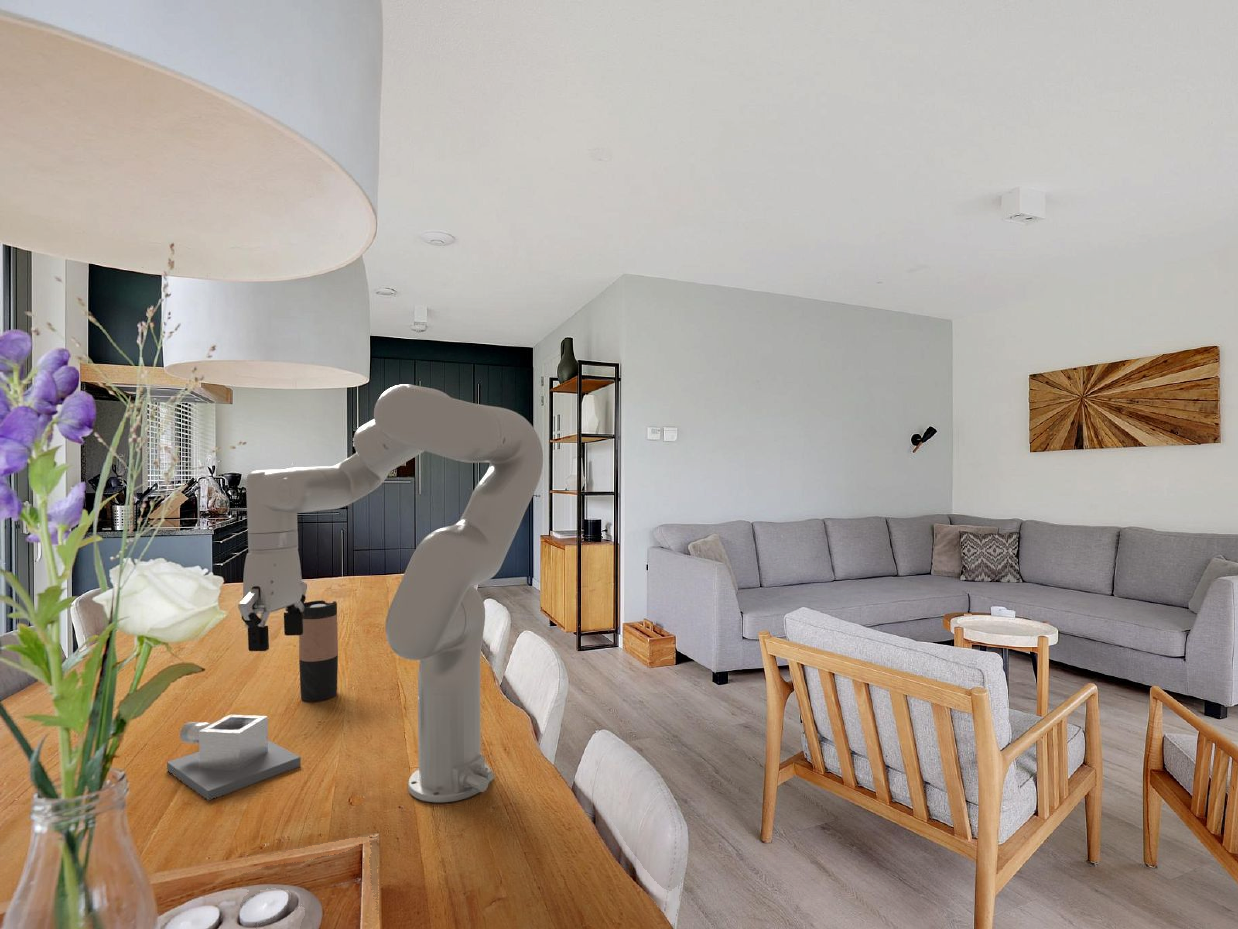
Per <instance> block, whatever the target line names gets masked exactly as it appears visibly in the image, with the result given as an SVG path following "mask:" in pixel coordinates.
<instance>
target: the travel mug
mask: <svg viewBox="0 0 1238 929" xmlns="http://www.w3.org/2000/svg"><path fill="white" fill-rule="evenodd" d="M303 605H304V611H303V612H302V614H303V634H302V635H298V663H299V665H298V667H299V684H300V686H299V687H300V699H301V701H302V702H307V703H317V702H323V701H327V700H330V698H331V699H333V698H335V697H336V696H337V694H338V674H339V672H338V668H339V666H338V665H339V647H338V646H339V644H338V643H339V642H338V638H339V635H338V632H339V631H338V602H337V601H335V600H334V601H332V602H326V601H325V600H314V601H313V600H312V601H308V602H306V601H305V602H304V604H303ZM334 696H335V697H334Z"/></svg>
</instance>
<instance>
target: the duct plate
mask: <svg viewBox="0 0 1238 929" xmlns="http://www.w3.org/2000/svg"><path fill="white" fill-rule="evenodd" d="M233 730H239V729H233ZM301 759H302V758H301V756H299V755H298V754H296V753H294V752H292V751H290V750H288V749H286V748H285V747H283V746H281V745H279V744H276V743H274V742H273V741H271V740H269V739H268V752H266V753H265V754H263V755H262V756H260V757H259V758H257V759H256V760H254V761H253V762H252V763H250V764H249V765H247V766H246V767H244V768H243V769H241V770H240V771H236V770H218V769H200V768H199V751H196V752H194V753H191V754H187V755H185V756H182V757H178V758H175V759H172V760H169V761H167V762H166V771H167V770H168V771H169V772H170V773H172V774H173V775H175V776H174V777H175V778H176V777H177V778H178V779H177V778H176V779H177V780H179V781H180V780H181V781H182V782H181V781H180V782H181V783H183V784H185V785H186V786H187V785H188V786H187V787H188V788H190V789H191V788H192V789H191V790H192V791H194V790H195V791H196V792H195V791H194V792H195V793H196V794H198V795H199V794H200V795H199V796H201V797H202V796H203V797H202V798H203V799H205V798H206V799H207V800H206V799H205V800H206V801H208V802H210V801H212V800H214V799H213V798H215V799H217V798H220V797H222V795H223V796H225V795H228V794H230V793H233V792H236V791H238V790H241V789H244V788H246V787H249V786H251V785H255V784H257V783H259V782H261V781H264V780H265V781H266V780H268V779H270V778H273V777H275V776H277V775H281V774H282V773H283V774H284V773H286V772H288V771H290V770H293V769H296V768H299V767H301ZM168 771H167V772H168ZM169 772H168V773H169ZM170 773H169V774H170ZM172 774H171V775H172ZM173 775H172V776H173ZM216 797H217V798H216ZM211 799H212V800H211ZM209 800H210V801H209Z"/></svg>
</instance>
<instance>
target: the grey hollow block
mask: <svg viewBox="0 0 1238 929" xmlns="http://www.w3.org/2000/svg"><path fill="white" fill-rule="evenodd" d="M268 723H269V718H268V716H267V715H253V714H252V715H247V714H228V715H227V716H224V717H223V718H221V719H219V720H217V721H215V722H205V721H204V722H203V721H202V722H199V721H187V722H185V724H183V726H182V727H181V729H180V733H179V739H180V740H181V742H182V743H184V744H185V743H186V744H198V752H199V768H200V769H218V770H236V771H240V770H241V769H243V768H244V767H246V766H247V765H249V764H250V763H252V762H253V761H254V760H256V759H257V758H259V757H260V756H262V755H263V754H265V753H266V752H268V740H269V738H268V736H269V733H268V732H269V730H268V729H269V728H268V726H269V724H268ZM233 729H239V730H233Z"/></svg>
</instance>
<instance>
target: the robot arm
mask: <svg viewBox="0 0 1238 929" xmlns="http://www.w3.org/2000/svg"><path fill="white" fill-rule="evenodd" d="M353 446H354V450H355V453H353V454H352V455H351V456H349V457H347V458H346V459H344V460H342V461H341V462H339V463H337V464H335V465H333V466H297V467H290V468H285V469H260V470H253V471H250V472H249V473H248V475H246V479H245V480H246V481H245V484H246V485H245V487H246V489H245V490H246V518H247V545H248V546H247V548H248V553H246V556H245V559H244V560H245V561H244V568H243V579H242V580H243V582H242V600H241V601H240V602H239V603H238V606H237V608H238V610H239V613H240V615H241V621H243V623H244V626H245V628H247V644H248V645H247V648H248V651H249V652H266V651H269V648H270V640H269V625H266V624H267V621H268V618H269V617H270V614H271V613H274V612H277V611H279V610H285V611H284V612H283V628H284V629H283V632H284V636H291V637H292V636H299V635H302V634H303V614H302V612H303V611H304V605H303V604H304V603H306V600H307V599H306V598H307V597H306V594H307V590H308V584H307V583H305V582H304V581H303V580H302V579H303V577H302V569H301V560H300V554H299V550H298V549H299V532H298V514H302V513H311V512H319V511H328V510H337V509H341V508H344V507H348V506H349V505H351V504H352V503H354V502H356V501H358V500H360V499H361V498H363V497H364V496H367V495H368V494H370V493H371V492H373V491H374V490H377V489H378V488H379V487H380V486H381V485H382V484H383V483H384V481H385V480H387V478H388V476H389V474H390V472H392V471H393V470H395V469H397V468H399V467H400V466H402V465H404V464H405V463H407V462H408V461H410V460H412V459H413V458H415V457H417V456H418V455H421V454H423V453H424V452H427V453H430V454H432V455H433V454H434V455H437V456H440V457H443V458H446V459H450V460H453V461H459V462H463V463H468V464H471V463H473V464H479V463H481V464H482V463H489V466H488V469H487V471H486V472H485V474H484V475H483V477H482V478H481V479H480V480H479V482H478V483H477V485H476V486H475V488H474V490H473V491H472V493H471V496H470V498H469V501H468V503H467V505H466V508H465V509H464V512H463V513H462V515H461V517H460V519H459V520H458V522H456V523H455V524H453V525H449V526H443V527H441V528H437V529H435V530H434V531H432V532H430V533H429V534H427V535H426V536H425V537H424V538H423V539H422V540H421V542H420V543H419V544H418V545H417V547H416V548H415V549H414V552H413V554H412V556H411V558H410V560H409V562H408V564H407V567H406V569H405V571H404V574H403V576H402V577H401V581H400V582H399V585H398V587H397V589H396V592H395V593H394V596H393V599H392V600H391V603H390V606H389V608H388V611H387V615H386V618H385V626H384V627H385V636H386V641H387V642H388V645H389V647H390V649H391V650H392V651H393V652H394V653H395V654H396V655H397V656H398V657H400V658H402V659H405V660H409V661H419V662H418V672H417V716H418V717H417V719H418V720H417V723H418V725H417V728H418V730H417V735H418V737H417V738H418V739H417V740H418V743H417V744H418V745H417V746H418V769H416V770H415V771H414V772H413V773H412V774H411V775H410V777H409V778H408V781H407V783H408V784H407V785H408V786H407V789H408V793H409V794H410V795H411V796H412V797H414V798H416V799H418V800H420V801H422V802H429V803H437V804H438V803H452V802H457V801H461V800H465V799H469V798H470V797H473V796H476V795H477V794H479V793H484V792H485V791H487V789H488V787H489V784H490V782H492V781H493V780H494V778H495V772H494V771H492V769H491V768H490V767H489V765H488V764H487V763H486V760H485V759H486V758H485V755H482V736H481V735H482V733H481V732H482V731H481V730H482V729H481V728H482V726H481V723H482V719H481V718H482V717H481V716H482V715H481V714H482V713H481V711H482V710H481V705H482V704H481V682H482V681H481V680H482V679H481V676H482V675H481V672H482V670H481V669H482V668H481V663H482V662H481V661H482V657H481V656H482V646H483V645H482V644H483V636H484V632H485V625H486V624H485V623H486V607H485V603H484V599H483V598H482V597H483V596H481V593H480V591H478V589H477V588H476V587H475V586H478V585H479V584H482V583H485V582H487V581H489V580H491V579H492V578H493V577H495V576H496V574H497V573H498V572H499V571H500V570H501V567H502V565H503V563H504V561H505V558H506V556H507V553H508V552H509V549H510V548H511V545H512V543H513V541H514V538H515V537H516V534H517V531H518V529H519V528H520V525H521V524H522V523H521V522H522V520H523V517H524V515H525V513H526V511H527V509H528V507H529V504H530V502H531V500H532V498H533V496H534V494H535V493H536V492H535V491H536V490H537V486H538V485H539V482H540V479H541V477H542V473H543V472H542V471H543V467H544V451H543V446H542V443H541V440H540V437H539V434H538V433H537V431H536V430H535V428H534V427H533V425H532V424H531V423H530V422H529V421H528V420H527V418H525V417H524V416H523V415H521V414H519V413H518V412H516V411H513V410H511V409H508V408H505V407H500V406H499V407H498V406H492V405H485V404H479V403H474V402H469V401H465V400H461V399H457V398H453V397H451V396H450V395H448V394H447V393H445V392H444V391H441V390H438V389H435V388H431V387H426V386H420V385H415V384H408V383H407V384H398V385H394V386H392V387H390V388H388V389H386V390H385V391H383V393H381V394H380V396H379V398H378V399H377V401H376V403H375V405H374V410H373V418H372V419H371V420H369V421H368V422H366V423H364V424H363V425H361V426H359V428H357V430H356V431H355V432H354V435H353ZM258 615H260V616H258Z"/></svg>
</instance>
